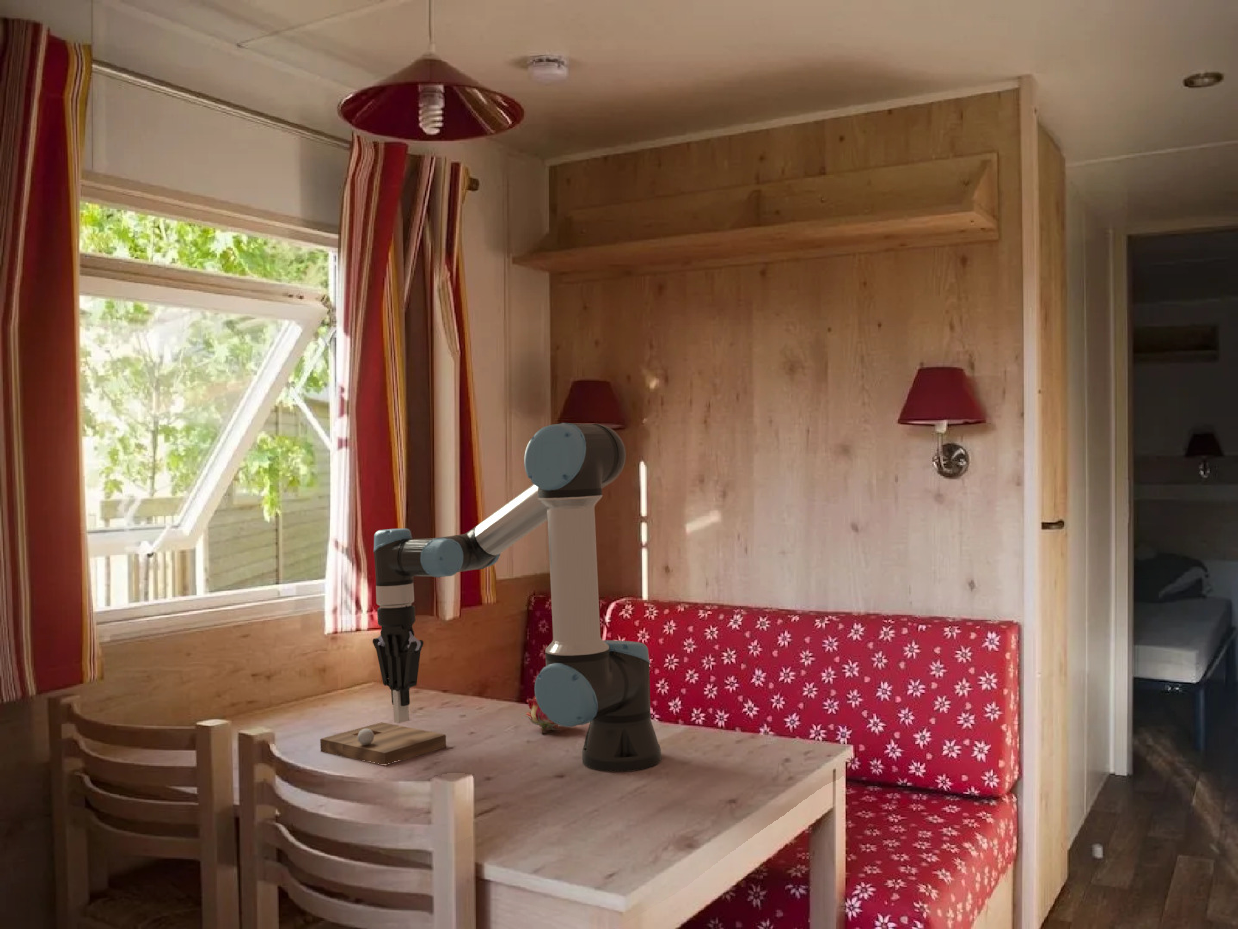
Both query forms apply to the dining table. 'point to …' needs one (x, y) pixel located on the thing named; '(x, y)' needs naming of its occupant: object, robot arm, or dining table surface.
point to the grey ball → (365, 736)
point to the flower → (539, 716)
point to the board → (384, 743)
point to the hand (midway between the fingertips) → (401, 721)
